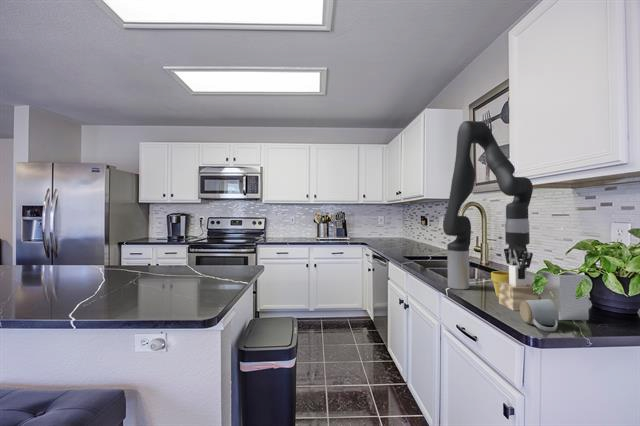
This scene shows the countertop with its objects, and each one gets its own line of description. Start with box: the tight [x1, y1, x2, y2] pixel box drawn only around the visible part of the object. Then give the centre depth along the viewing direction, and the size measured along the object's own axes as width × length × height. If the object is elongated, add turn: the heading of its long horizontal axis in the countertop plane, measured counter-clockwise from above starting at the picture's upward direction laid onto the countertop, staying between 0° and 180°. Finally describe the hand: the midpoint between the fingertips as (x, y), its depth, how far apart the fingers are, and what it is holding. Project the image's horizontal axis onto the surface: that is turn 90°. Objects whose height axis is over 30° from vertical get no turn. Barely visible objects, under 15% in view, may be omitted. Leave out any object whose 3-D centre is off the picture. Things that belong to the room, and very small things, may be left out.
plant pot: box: [490, 270, 509, 298], centre depth 128 cm, size 10×10×10 cm
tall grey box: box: [539, 270, 590, 321], centre depth 105 cm, size 9×9×14 cm
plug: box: [508, 264, 528, 287], centre depth 115 cm, size 4×5×9 cm
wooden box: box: [498, 282, 540, 311], centre depth 115 cm, size 9×9×8 cm
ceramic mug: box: [519, 299, 560, 333], centre depth 96 cm, size 11×8×8 cm
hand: (517, 277), depth 115 cm, fingers closed on plug, 3 cm apart
